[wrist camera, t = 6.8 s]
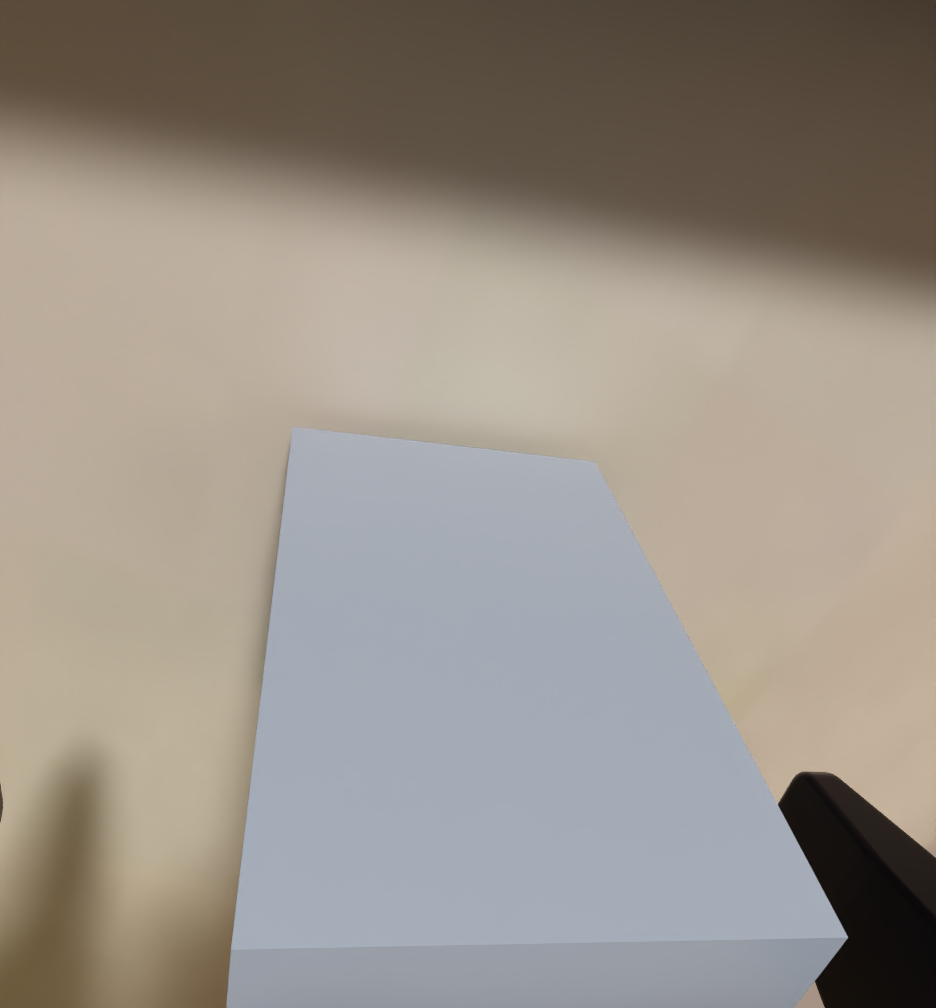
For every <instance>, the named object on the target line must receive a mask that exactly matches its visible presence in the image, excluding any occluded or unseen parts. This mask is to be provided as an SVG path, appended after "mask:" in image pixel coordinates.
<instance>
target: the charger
mask: <svg viewBox="0 0 936 1008" xmlns="http://www.w3.org/2000/svg"><path fill="white" fill-rule="evenodd" d="M847 939H848V936H847V934H846V932H845V931H844V929H843V927H842V925H841V923H840V921H839V919H838V917H837V915H836V914H835V912H834V910H833V908H832V906H831V904H830V902H829V900H828V899H827V897H826V895H825V893H824V891H823V889H822V887H821V885H820V883H819V882H818V880H817V878H816V876H815V874H814V872H813V870H812V868H811V867H810V865H809V863H808V861H807V859H806V857H805V855H804V853H803V851H802V850H801V848H800V846H799V844H798V842H797V840H796V838H795V836H794V835H793V833H792V831H791V829H790V827H789V825H788V823H787V821H786V819H785V818H784V816H783V814H782V812H781V810H780V808H779V806H778V804H777V803H776V801H775V799H774V797H773V795H772V793H771V791H770V789H769V787H768V786H767V784H766V782H765V780H764V778H763V776H762V774H761V772H760V771H759V769H758V767H757V765H756V763H755V761H754V759H753V757H752V755H751V754H750V752H749V750H748V748H747V746H746V744H745V742H744V740H743V739H742V737H741V735H740V733H739V731H738V729H737V727H736V725H735V724H734V722H733V720H732V718H731V716H730V714H729V712H728V710H727V708H726V707H725V705H724V703H723V701H722V699H721V697H720V695H719V693H718V692H717V690H716V688H715V686H714V684H713V682H712V680H711V678H710V676H709V675H708V673H707V671H706V669H705V667H704V665H703V663H702V661H701V660H700V658H699V656H698V654H697V652H696V650H695V648H694V646H693V644H692V643H691V641H690V639H689V637H688V635H687V633H686V631H685V629H684V628H683V626H682V624H681V622H680V620H679V618H678V616H677V614H676V612H675V611H674V609H673V607H672V605H671V603H670V601H669V599H668V597H667V596H666V594H665V592H664V590H663V588H662V586H661V584H660V582H659V580H658V579H657V577H656V575H655V573H654V571H653V569H652V567H651V565H650V564H649V562H648V560H647V558H646V556H645V554H644V552H643V550H642V549H641V547H640V545H639V543H638V541H637V539H636V537H635V535H634V533H633V532H632V530H631V528H630V526H629V524H628V522H627V520H626V518H625V517H624V515H623V513H622V511H621V509H620V507H619V505H618V503H617V501H616V500H615V498H614V496H613V494H612V492H611V490H610V488H609V486H608V485H607V483H606V481H605V479H604V477H603V475H602V473H601V471H600V469H599V468H598V466H597V464H596V462H594V461H586V460H577V459H568V458H560V457H551V456H542V455H534V454H525V453H516V452H508V451H499V450H490V449H482V448H473V447H465V446H456V445H447V444H439V443H430V442H421V441H413V440H404V439H395V438H387V437H378V436H369V435H361V434H352V433H343V432H335V431H326V430H317V429H309V428H300V427H292V436H291V444H290V453H289V461H288V469H287V478H286V486H285V495H284V503H283V512H282V520H281V529H280V537H279V546H278V554H277V563H276V571H275V580H274V588H273V597H272V605H271V614H270V622H269V631H268V639H267V648H266V656H265V665H264V673H263V682H262V690H261V698H260V707H259V715H258V724H257V732H256V741H255V749H254V758H253V766H252V775H251V783H250V792H249V800H248V809H247V817H246V826H245V834H244V843H243V851H242V860H241V868H240V877H239V885H238V894H237V902H236V910H235V919H234V927H233V936H232V944H231V954H230V967H229V979H228V992H227V1004H226V1008H794V1007H795V1006H796V1005H797V1004H798V1002H799V1001H800V1000H801V998H802V997H803V996H804V994H805V993H806V992H807V991H808V989H809V988H810V987H811V985H812V984H813V983H814V981H815V980H816V979H817V978H818V976H819V975H820V974H821V972H822V971H823V970H824V968H825V967H826V966H827V965H828V963H829V962H830V961H831V959H832V958H833V957H834V955H835V954H836V953H837V952H838V950H839V949H840V948H841V946H842V945H843V944H844V942H845V941H846V940H847Z"/></svg>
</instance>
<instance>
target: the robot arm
mask: <svg viewBox="0 0 936 1008" xmlns="http://www.w3.org/2000/svg"><path fill="white" fill-rule="evenodd" d="M778 806H779V808H780V810H781V812H782V814H783V816H784V818H785V819H786V821H787V823H788V825H789V827H790V829H791V831H792V833H793V835H794V836H795V838H796V840H797V842H798V844H799V846H800V848H801V850H802V851H803V853H804V855H805V857H806V859H807V861H808V863H809V865H810V867H811V868H812V870H813V872H814V874H815V876H816V878H817V880H818V882H819V883H820V885H821V887H822V889H823V891H824V893H825V895H826V897H827V899H828V900H829V902H830V904H831V906H832V908H833V910H834V912H835V914H836V915H837V917H838V919H839V921H840V923H841V925H842V927H843V929H844V931H845V932H846V934H847V936H848V939H847V940H846V941H845V942H844V944H843V945H842V946H841V948H840V949H839V950H838V952H837V953H836V954H835V955H834V957H833V958H832V959H831V961H830V962H829V963H828V965H827V966H826V967H825V968H824V970H823V971H822V972H821V974H820V975H819V976H818V978H817V979H816V980H815V983H816V986H817V989H818V991H819V994H820V996H821V999H822V1002H823V1004H824V1007H825V1008H936V858H935V857H934V856H933V855H932V854H930V853H929V852H928V851H927V850H926V849H924V848H923V847H922V846H921V845H920V844H918V843H917V842H916V841H915V840H914V839H912V838H911V837H910V836H909V835H907V834H906V833H905V832H904V831H903V830H901V829H900V828H899V827H898V826H897V825H895V824H894V823H893V822H892V821H891V820H889V819H888V818H887V817H886V816H884V815H883V814H882V813H881V812H880V811H878V810H877V809H876V808H875V807H874V806H872V805H871V804H870V803H869V802H867V801H866V800H865V799H864V798H863V797H861V796H860V795H859V794H858V793H857V792H855V791H854V790H853V789H852V788H851V787H849V786H848V785H847V784H846V783H844V782H843V781H842V780H841V779H840V778H838V777H837V776H835V775H833V774H831V773H826V772H801V773H799V774H797V775H796V776H795V777H794V778H793V780H792V781H791V783H790V785H789V786H788V788H787V790H786V791H785V793H784V795H783V796H782V798H781V800H780V801H779V803H778ZM2 810H3V798H2V792H1V785H0V822H1V817H2Z"/></svg>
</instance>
